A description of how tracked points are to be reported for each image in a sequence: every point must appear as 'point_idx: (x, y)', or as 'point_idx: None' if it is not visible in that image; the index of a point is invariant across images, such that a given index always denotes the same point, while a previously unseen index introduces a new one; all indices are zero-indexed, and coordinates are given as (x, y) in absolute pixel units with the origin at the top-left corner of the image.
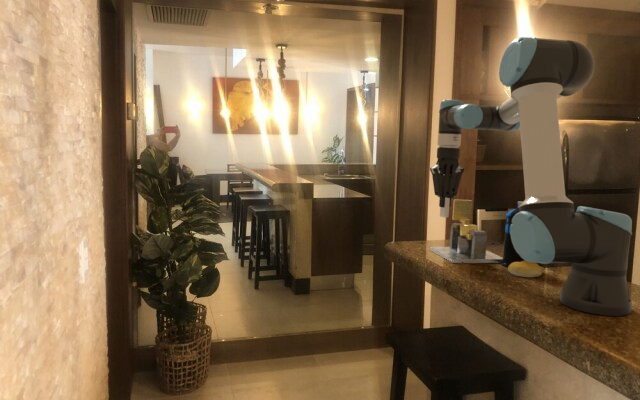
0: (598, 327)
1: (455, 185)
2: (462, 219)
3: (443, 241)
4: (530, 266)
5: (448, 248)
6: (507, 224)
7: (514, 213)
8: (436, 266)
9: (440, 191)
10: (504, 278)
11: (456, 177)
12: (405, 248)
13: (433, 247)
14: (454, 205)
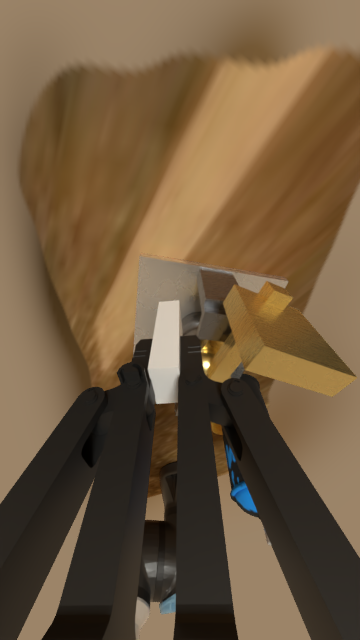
0: (149, 487)
1: (252, 496)
2: (227, 349)
3: (293, 96)
4: (212, 431)
5: (183, 284)
6: (230, 465)
7: (239, 506)
8: (93, 371)
9: (97, 449)
10: (165, 422)
11: (316, 628)
12: (71, 212)
13: (145, 266)
14: (237, 345)
